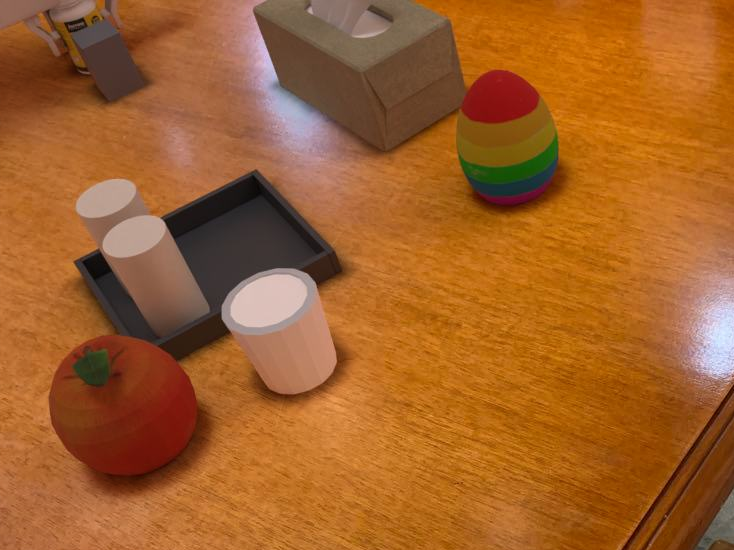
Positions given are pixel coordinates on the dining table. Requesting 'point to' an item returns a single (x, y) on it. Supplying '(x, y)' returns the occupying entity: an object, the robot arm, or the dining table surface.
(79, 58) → the supplement bottle
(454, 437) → the dining table surface
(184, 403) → the fruit
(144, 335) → the tray
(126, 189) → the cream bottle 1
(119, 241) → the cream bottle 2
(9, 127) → the dining table surface
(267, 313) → the white cup
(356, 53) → the tissue box
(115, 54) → the grey block right
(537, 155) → the decorative egg
